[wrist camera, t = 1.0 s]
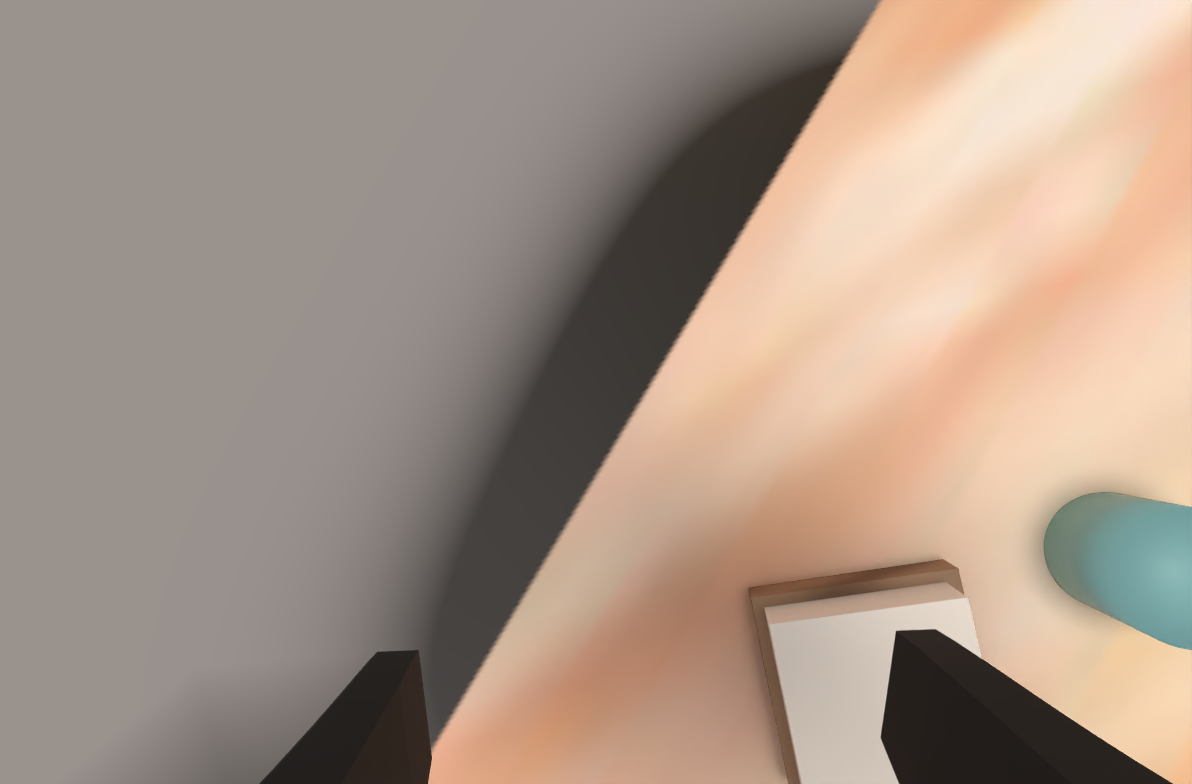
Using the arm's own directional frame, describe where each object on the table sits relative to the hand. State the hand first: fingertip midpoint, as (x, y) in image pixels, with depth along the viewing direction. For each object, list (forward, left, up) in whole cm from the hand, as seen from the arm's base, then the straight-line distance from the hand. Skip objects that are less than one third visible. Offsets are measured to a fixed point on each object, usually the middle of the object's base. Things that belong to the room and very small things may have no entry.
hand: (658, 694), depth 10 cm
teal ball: (-16, -4, -19) cm, 25 cm away
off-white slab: (-9, +4, -17) cm, 20 cm away
